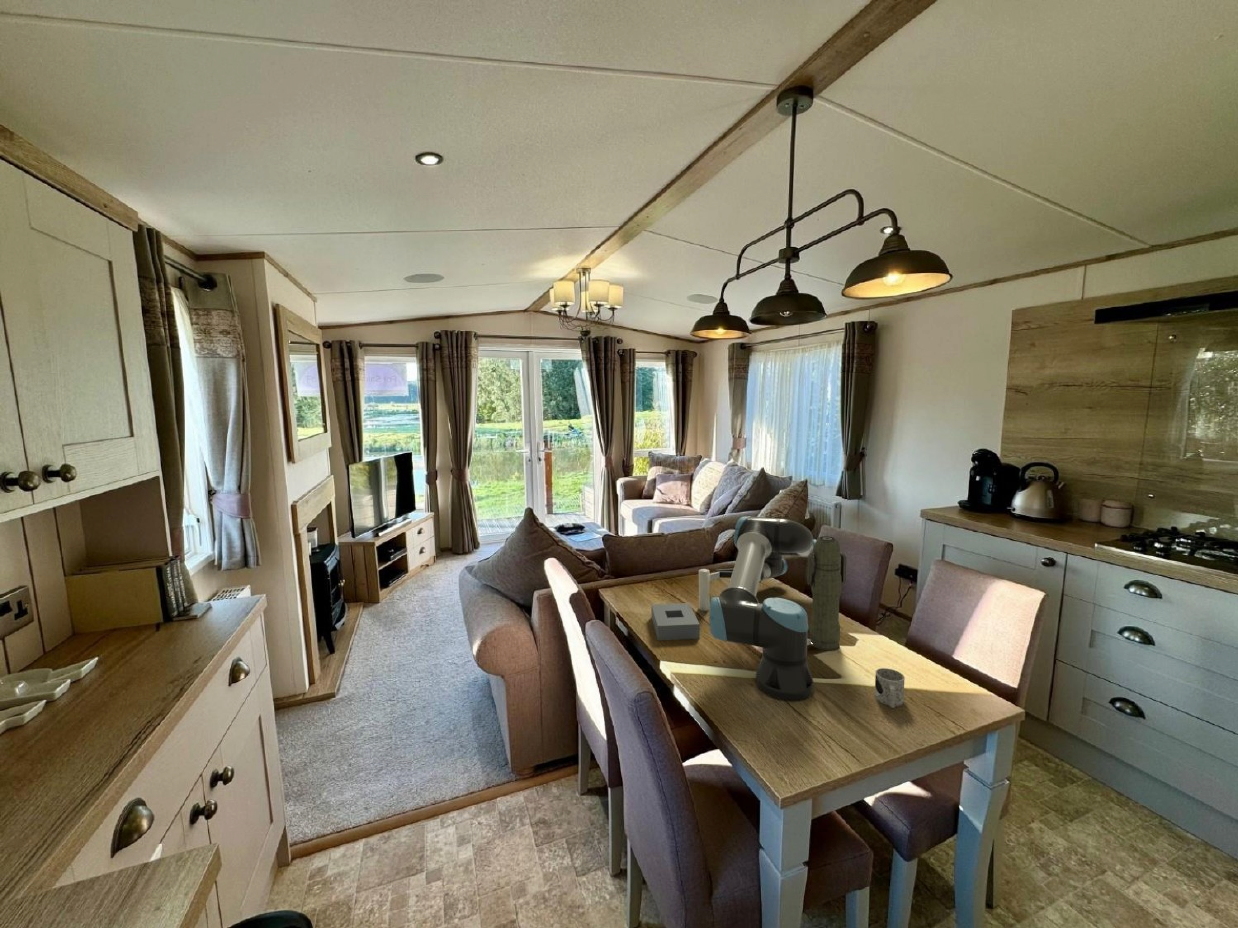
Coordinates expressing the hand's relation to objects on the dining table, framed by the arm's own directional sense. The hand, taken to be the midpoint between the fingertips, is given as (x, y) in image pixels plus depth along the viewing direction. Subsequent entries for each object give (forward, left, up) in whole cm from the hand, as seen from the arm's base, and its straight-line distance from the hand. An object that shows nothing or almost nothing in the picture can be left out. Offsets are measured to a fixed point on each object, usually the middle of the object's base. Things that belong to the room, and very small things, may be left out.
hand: (718, 583), depth 194 cm
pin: (-4, +7, -8) cm, 12 cm away
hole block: (-19, +21, -8) cm, 30 cm away
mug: (-68, -27, -9) cm, 74 cm away
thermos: (-36, -25, -8) cm, 45 cm away
